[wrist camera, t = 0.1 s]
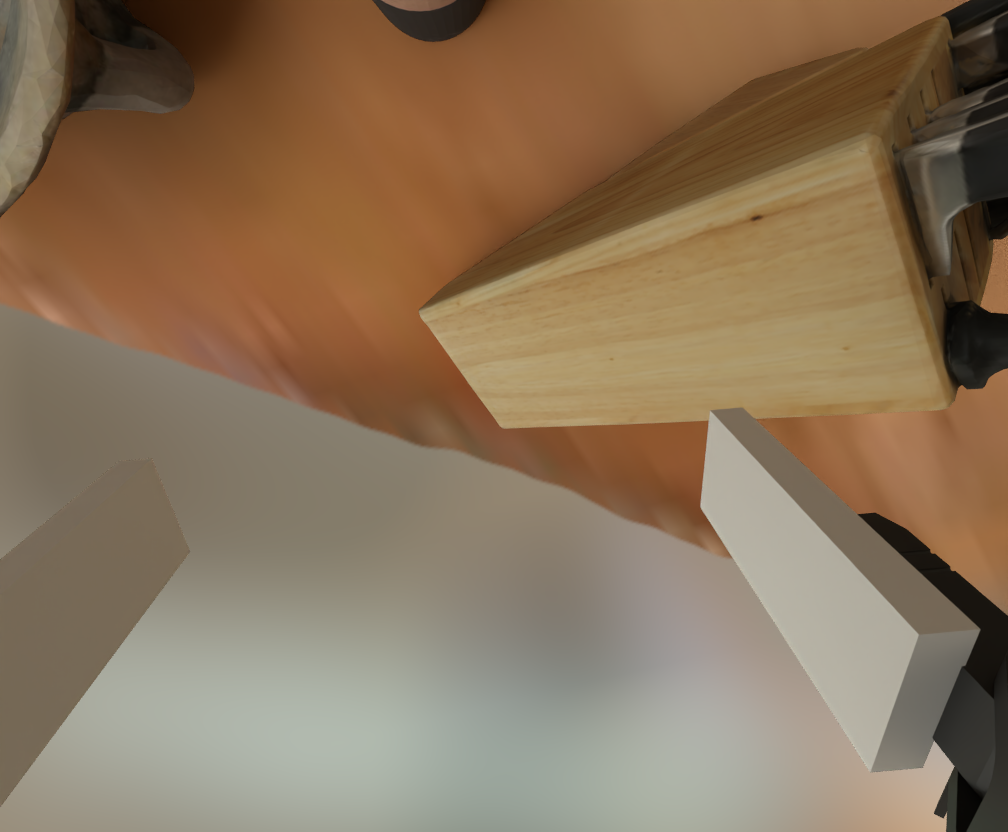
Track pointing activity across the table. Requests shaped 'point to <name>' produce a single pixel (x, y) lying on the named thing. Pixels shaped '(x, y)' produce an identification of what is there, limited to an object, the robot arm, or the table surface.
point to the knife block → (767, 252)
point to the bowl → (75, 76)
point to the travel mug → (431, 16)
